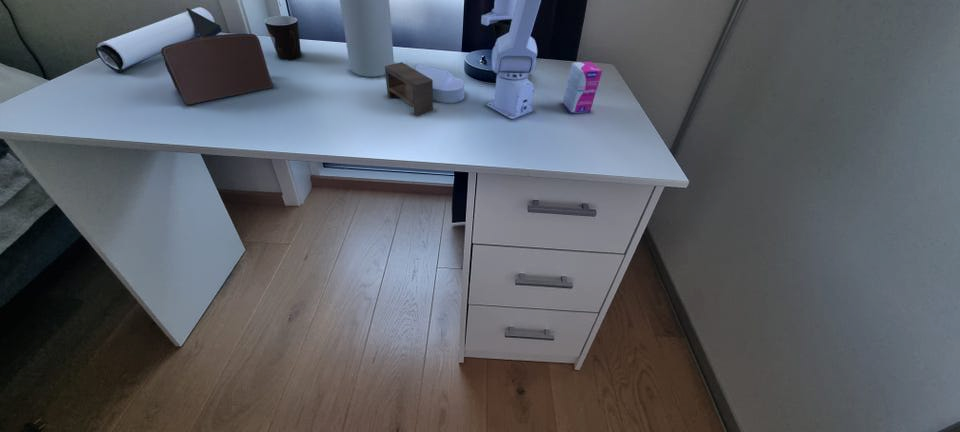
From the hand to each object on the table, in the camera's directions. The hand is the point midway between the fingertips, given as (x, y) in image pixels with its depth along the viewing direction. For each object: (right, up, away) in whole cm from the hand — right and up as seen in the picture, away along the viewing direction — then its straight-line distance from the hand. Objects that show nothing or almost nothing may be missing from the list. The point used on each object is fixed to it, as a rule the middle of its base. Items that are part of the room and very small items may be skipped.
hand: (501, 48), depth 108 cm
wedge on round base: (-17, -13, -2) cm, 21 cm away
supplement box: (+20, -17, -3) cm, 27 cm away
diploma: (-93, +1, +6) cm, 94 cm away
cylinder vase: (-37, -3, +7) cm, 38 cm away
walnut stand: (-24, -17, -7) cm, 30 cm away
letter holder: (-70, -14, -8) cm, 72 cm away
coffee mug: (-62, +1, +9) cm, 63 cm away
